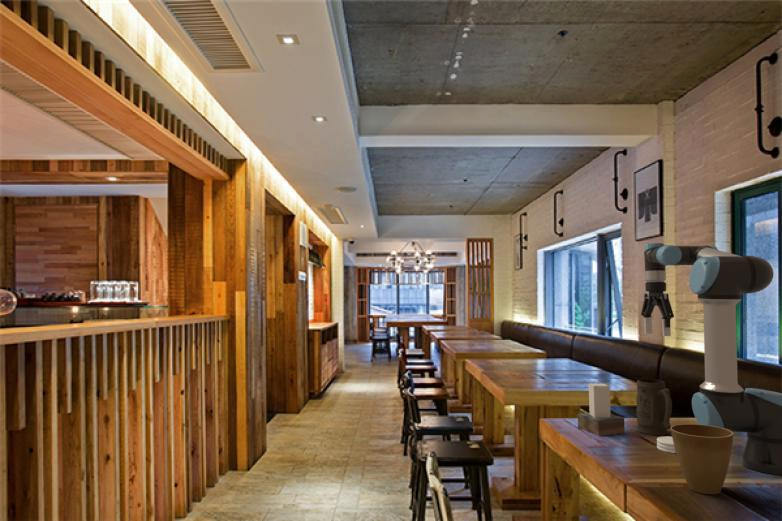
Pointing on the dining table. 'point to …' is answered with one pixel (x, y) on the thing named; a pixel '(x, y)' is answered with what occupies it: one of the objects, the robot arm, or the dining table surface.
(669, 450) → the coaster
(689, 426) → the plant pot
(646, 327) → the robot arm
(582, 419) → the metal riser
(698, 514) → the dining table surface
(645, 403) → the beer stein
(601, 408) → the cream block
